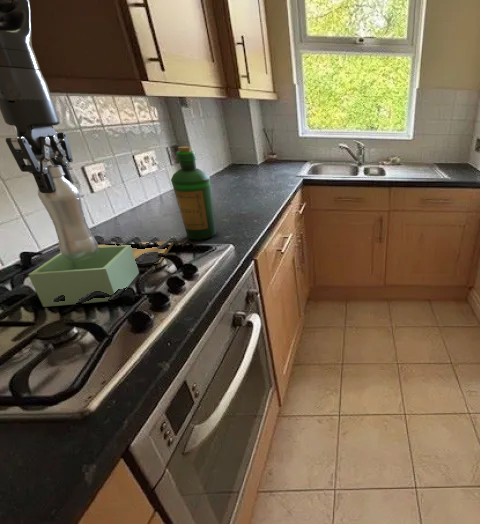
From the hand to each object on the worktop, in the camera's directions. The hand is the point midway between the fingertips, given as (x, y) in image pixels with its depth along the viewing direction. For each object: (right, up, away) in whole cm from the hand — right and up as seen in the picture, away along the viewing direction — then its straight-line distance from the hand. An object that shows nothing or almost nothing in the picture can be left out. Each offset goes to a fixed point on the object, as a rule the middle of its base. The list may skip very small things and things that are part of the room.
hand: (57, 188), depth 67 cm
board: (-5, -13, +27) cm, 30 cm away
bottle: (+8, -6, +42) cm, 43 cm away
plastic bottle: (-1, -14, +7) cm, 16 cm away
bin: (-1, -21, +10) cm, 23 cm away
